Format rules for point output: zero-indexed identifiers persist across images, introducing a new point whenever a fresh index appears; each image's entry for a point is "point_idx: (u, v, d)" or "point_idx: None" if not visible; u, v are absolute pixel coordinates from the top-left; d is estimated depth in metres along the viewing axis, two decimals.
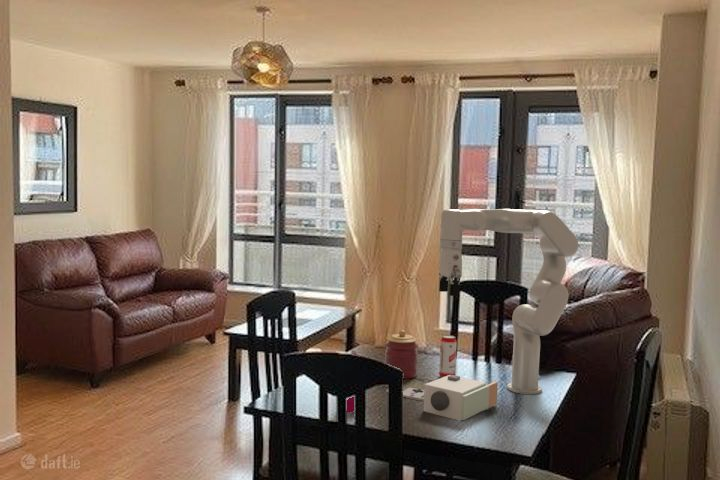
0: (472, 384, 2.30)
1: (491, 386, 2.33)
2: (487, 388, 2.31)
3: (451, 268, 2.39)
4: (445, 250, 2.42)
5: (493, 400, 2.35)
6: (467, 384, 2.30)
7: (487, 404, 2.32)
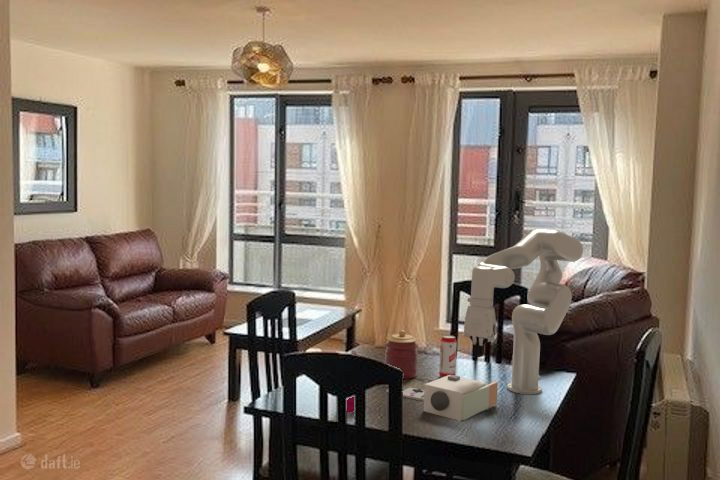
0: (472, 384, 2.30)
1: (491, 386, 2.33)
2: (487, 388, 2.31)
3: None
4: None
5: (493, 400, 2.35)
6: (467, 384, 2.30)
7: (487, 404, 2.32)
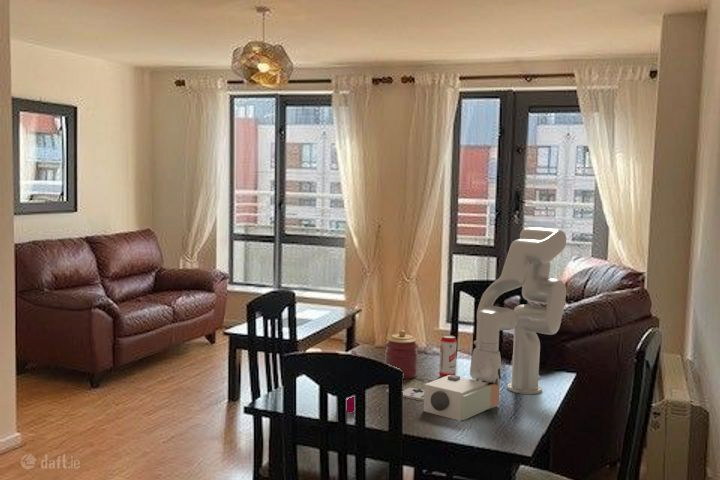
0: (472, 384, 2.30)
1: (493, 386, 2.33)
2: (488, 388, 2.31)
3: None
4: None
5: (495, 400, 2.34)
6: (467, 384, 2.30)
7: (488, 404, 2.31)
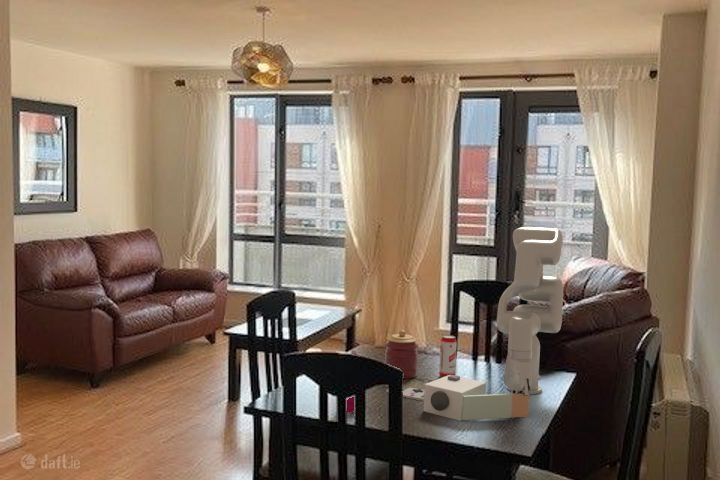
0: (472, 384, 2.30)
1: (516, 395, 2.23)
2: (508, 396, 2.22)
3: None
4: None
5: (520, 411, 2.24)
6: (467, 384, 2.30)
7: (509, 413, 2.23)
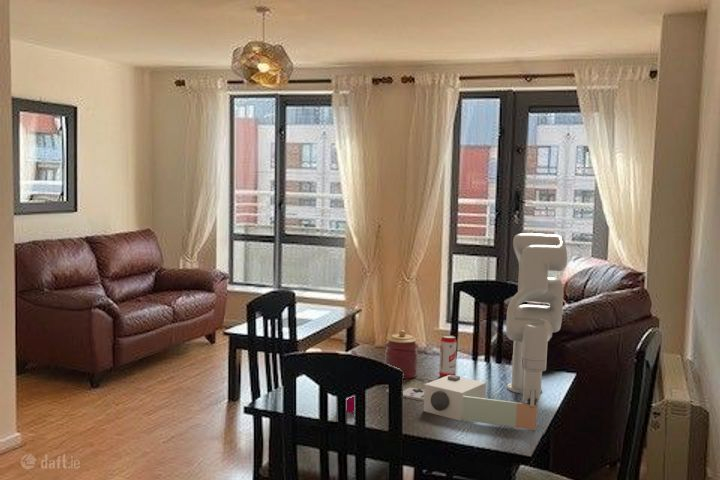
0: (472, 384, 2.30)
1: (521, 405, 2.13)
2: (512, 404, 2.14)
3: None
4: None
5: (526, 422, 2.13)
6: (467, 384, 2.30)
7: (513, 422, 2.14)
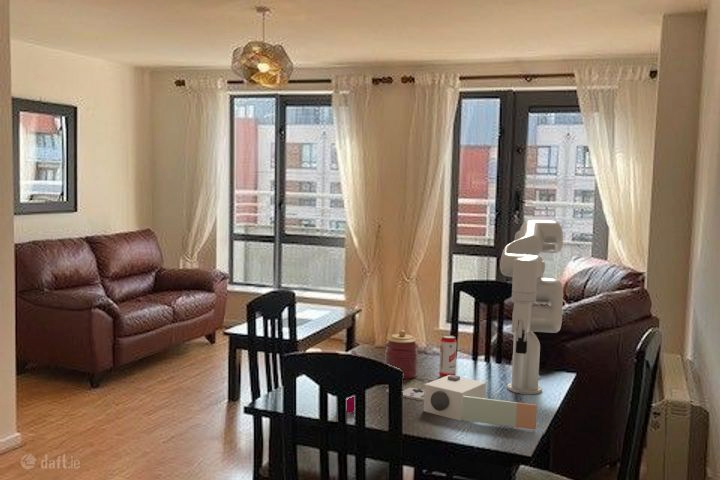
0: (472, 384, 2.30)
1: (521, 405, 2.13)
2: (512, 404, 2.14)
3: None
4: None
5: (526, 422, 2.13)
6: (467, 384, 2.30)
7: (513, 422, 2.14)
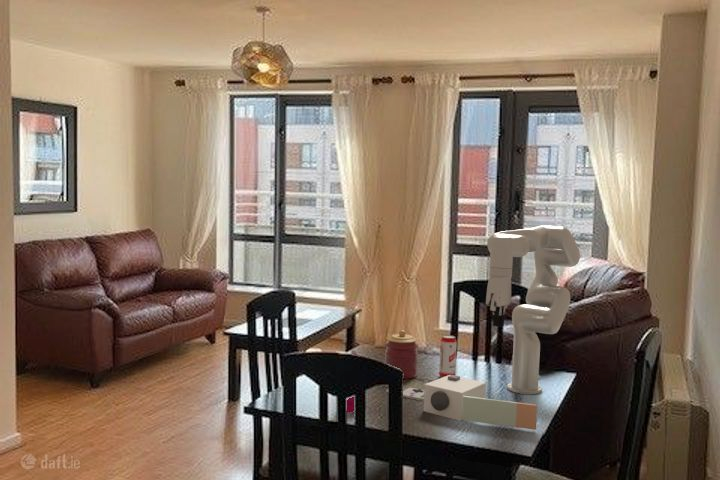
0: (472, 384, 2.30)
1: (521, 405, 2.13)
2: (512, 404, 2.14)
3: None
4: (508, 278, 2.35)
5: (526, 422, 2.13)
6: (467, 384, 2.30)
7: (513, 422, 2.14)
